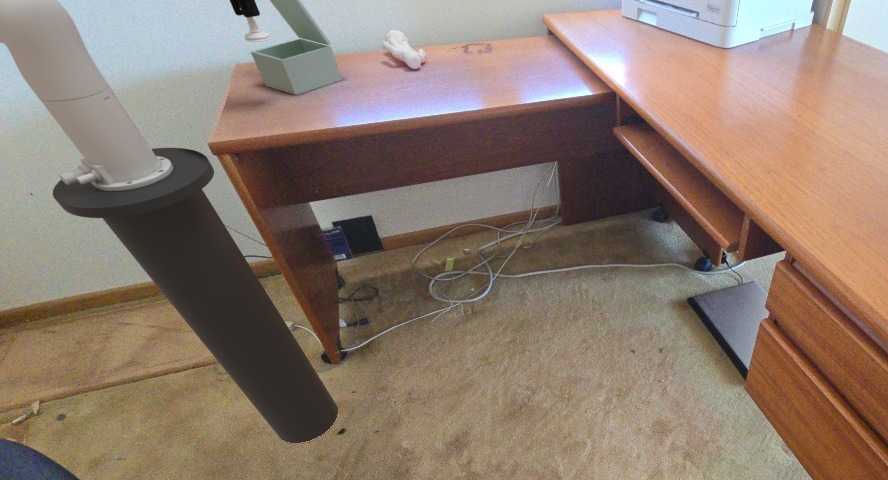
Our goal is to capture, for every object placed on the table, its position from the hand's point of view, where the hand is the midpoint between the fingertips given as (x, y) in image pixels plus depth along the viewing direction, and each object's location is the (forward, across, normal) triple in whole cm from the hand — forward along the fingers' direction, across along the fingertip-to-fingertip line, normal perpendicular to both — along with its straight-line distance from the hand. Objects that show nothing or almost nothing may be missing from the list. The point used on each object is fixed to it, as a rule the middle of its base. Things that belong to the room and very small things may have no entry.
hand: (248, 14), depth 109 cm
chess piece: (+5, 0, 0) cm, 5 cm away
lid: (+3, -9, +15) cm, 18 cm away
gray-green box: (+18, -9, +12) cm, 24 cm away
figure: (+18, -1, +39) cm, 43 cm away
